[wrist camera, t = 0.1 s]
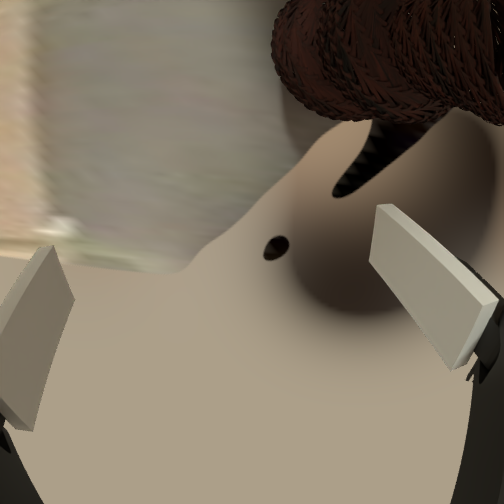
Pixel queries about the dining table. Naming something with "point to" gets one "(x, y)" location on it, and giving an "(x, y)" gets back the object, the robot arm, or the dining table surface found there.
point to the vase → (392, 58)
